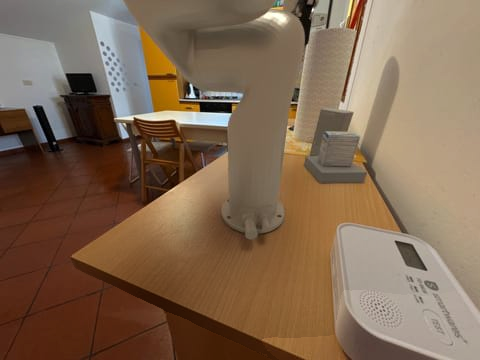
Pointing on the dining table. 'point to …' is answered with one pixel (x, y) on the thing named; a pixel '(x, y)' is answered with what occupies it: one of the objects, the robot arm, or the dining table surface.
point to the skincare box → (330, 125)
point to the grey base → (334, 172)
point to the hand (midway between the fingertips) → (292, 47)
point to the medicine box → (338, 148)
